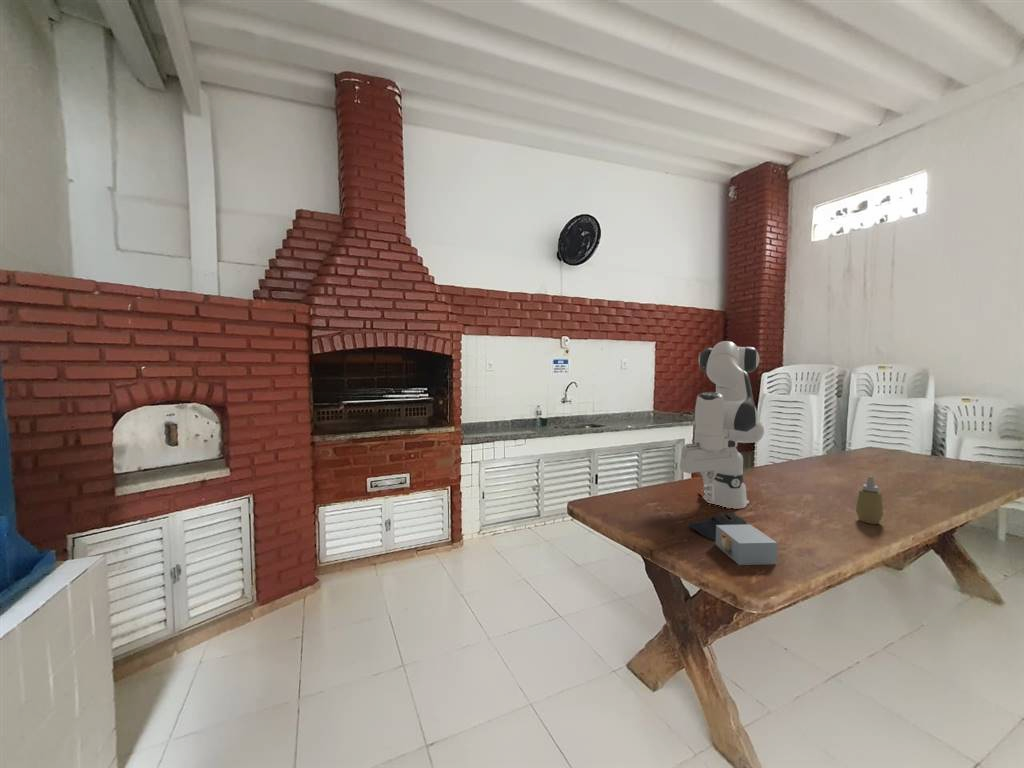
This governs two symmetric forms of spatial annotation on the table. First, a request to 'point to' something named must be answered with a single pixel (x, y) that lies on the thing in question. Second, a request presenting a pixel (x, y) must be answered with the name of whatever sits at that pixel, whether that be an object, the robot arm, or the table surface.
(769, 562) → the socket block
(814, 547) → the table surface
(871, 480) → the squeeze bottle
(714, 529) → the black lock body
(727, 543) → the dowel peg
